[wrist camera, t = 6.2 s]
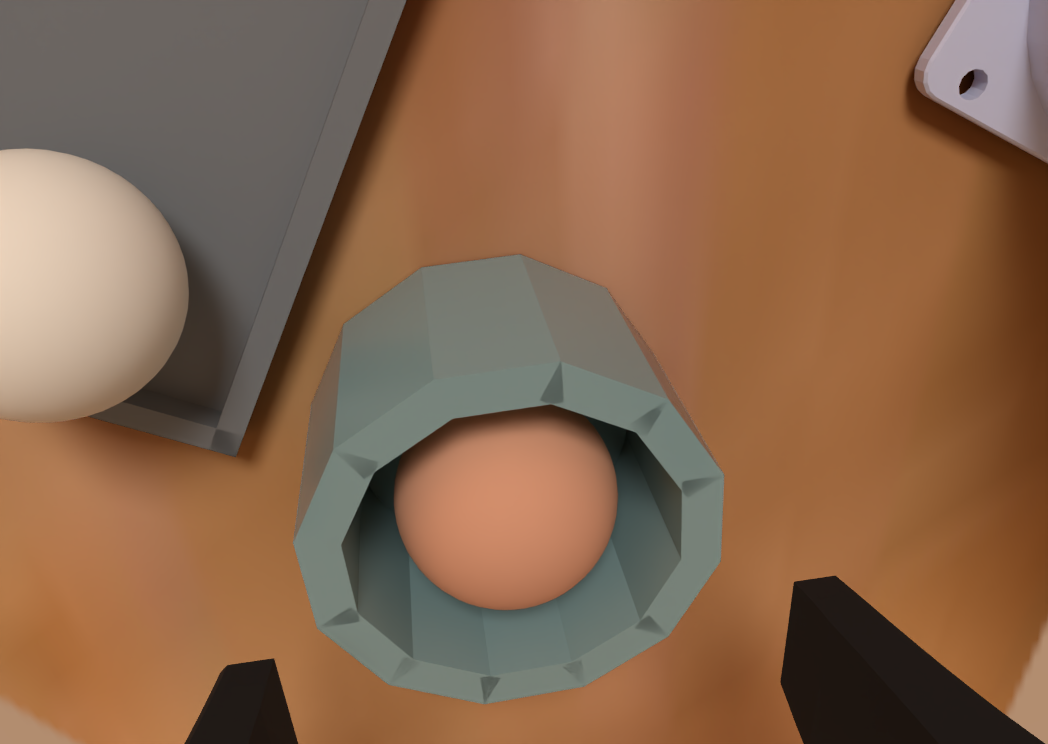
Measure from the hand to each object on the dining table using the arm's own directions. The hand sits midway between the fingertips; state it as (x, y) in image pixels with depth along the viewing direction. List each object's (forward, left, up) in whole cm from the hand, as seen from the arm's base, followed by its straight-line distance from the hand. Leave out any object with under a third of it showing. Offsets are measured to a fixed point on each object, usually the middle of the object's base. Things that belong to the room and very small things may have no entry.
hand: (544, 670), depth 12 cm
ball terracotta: (0, 0, -6) cm, 6 cm away
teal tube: (0, 0, -7) cm, 7 cm away
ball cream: (+8, -1, -6) cm, 10 cm away
